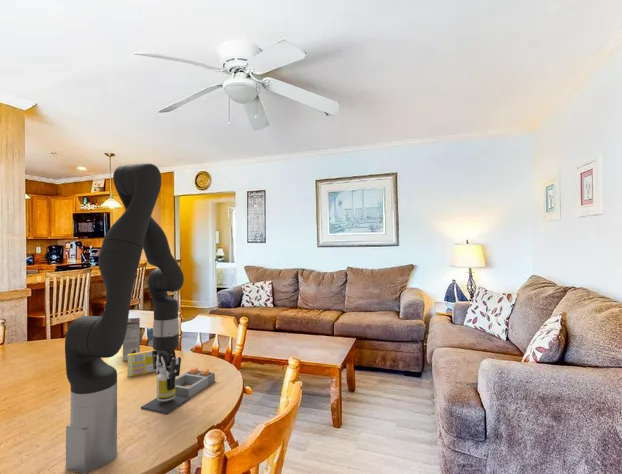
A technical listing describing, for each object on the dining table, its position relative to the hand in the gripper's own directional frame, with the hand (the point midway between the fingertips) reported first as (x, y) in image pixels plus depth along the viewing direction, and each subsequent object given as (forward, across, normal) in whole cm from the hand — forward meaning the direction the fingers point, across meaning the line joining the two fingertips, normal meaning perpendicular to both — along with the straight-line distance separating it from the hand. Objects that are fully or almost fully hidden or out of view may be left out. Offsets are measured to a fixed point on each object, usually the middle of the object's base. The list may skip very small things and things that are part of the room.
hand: (166, 386), depth 106 cm
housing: (+5, -5, +11) cm, 14 cm away
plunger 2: (+4, -5, +17) cm, 18 cm away
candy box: (+6, -30, +9) cm, 32 cm away
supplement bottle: (+4, 0, 0) cm, 4 cm away
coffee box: (+6, -53, +12) cm, 55 cm away
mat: (+5, 0, 0) cm, 5 cm away
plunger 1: (+4, -9, +15) cm, 18 cm away
